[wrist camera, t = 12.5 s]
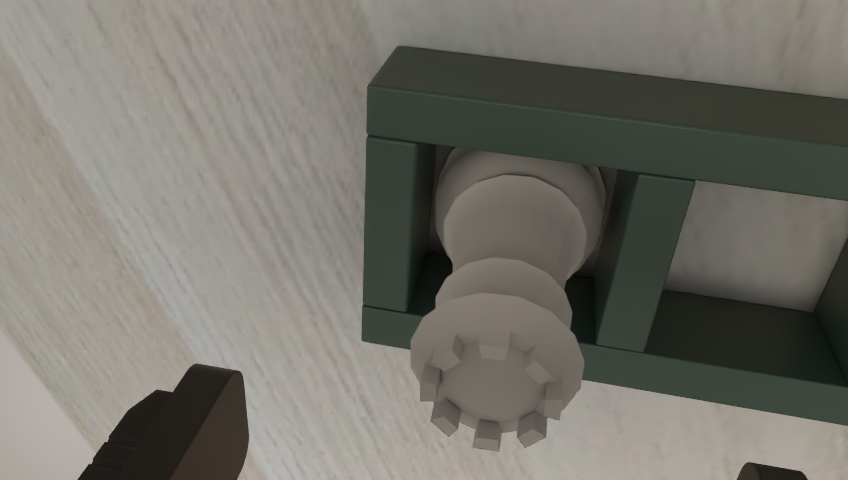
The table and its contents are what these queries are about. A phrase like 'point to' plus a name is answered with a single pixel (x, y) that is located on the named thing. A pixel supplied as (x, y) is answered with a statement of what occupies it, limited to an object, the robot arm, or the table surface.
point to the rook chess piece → (506, 293)
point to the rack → (617, 216)
